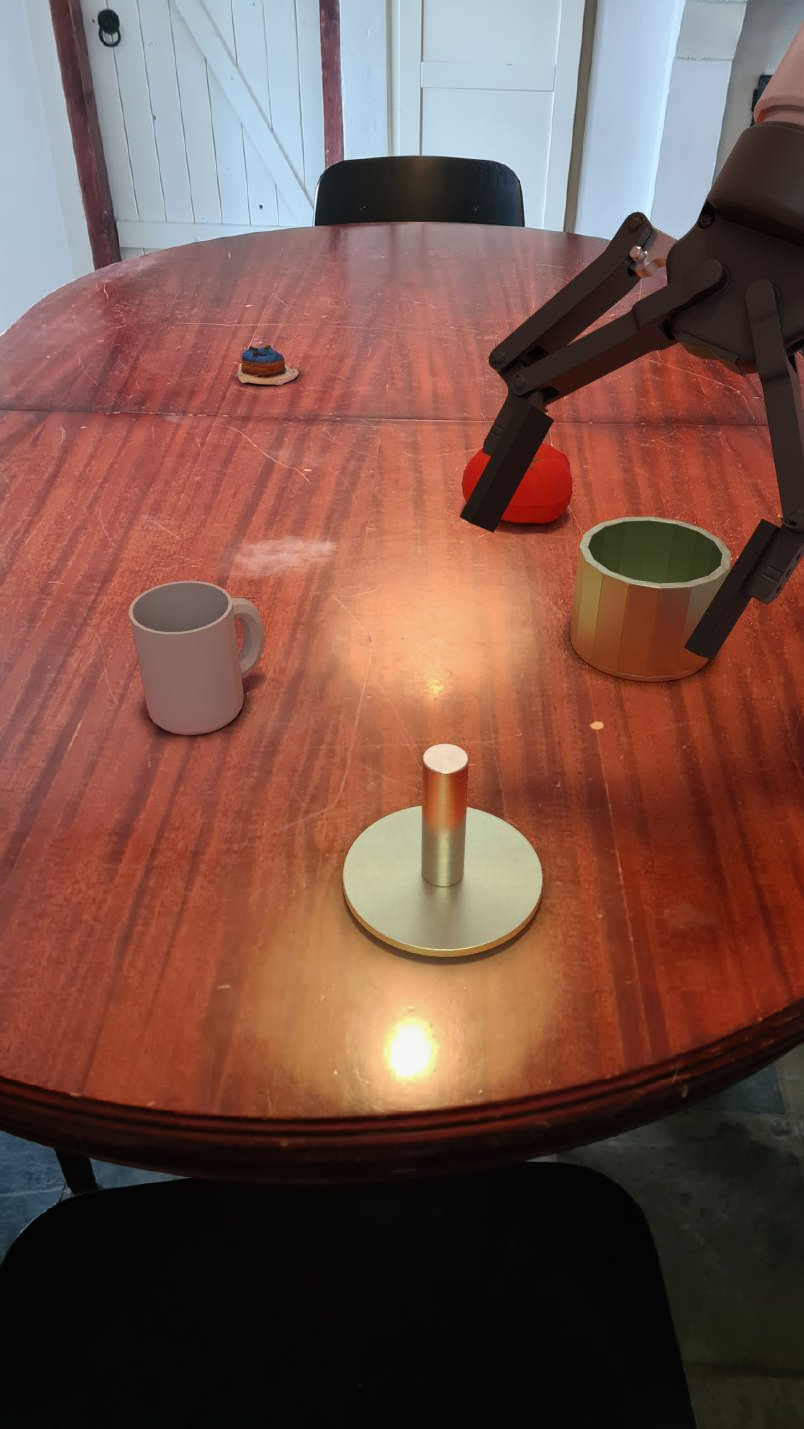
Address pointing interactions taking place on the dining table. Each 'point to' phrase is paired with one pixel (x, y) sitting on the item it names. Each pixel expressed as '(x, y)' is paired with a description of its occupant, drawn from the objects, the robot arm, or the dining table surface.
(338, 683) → the dining table surface
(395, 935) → the lid
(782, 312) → the robot arm
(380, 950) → the dining table surface
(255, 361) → the dessert
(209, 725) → the cup
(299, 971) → the dining table surface
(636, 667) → the round metal container
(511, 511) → the tomato
